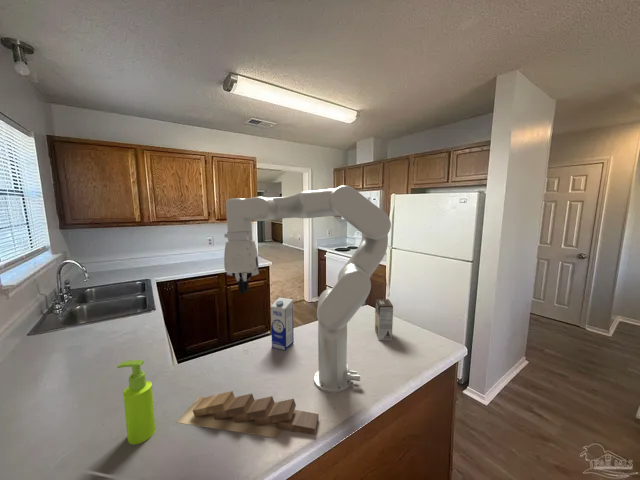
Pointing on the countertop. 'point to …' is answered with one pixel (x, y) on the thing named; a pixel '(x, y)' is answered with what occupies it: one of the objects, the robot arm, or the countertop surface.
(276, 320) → the milk carton
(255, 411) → the domino
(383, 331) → the coffee box
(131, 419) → the soap dispenser
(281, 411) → the domino
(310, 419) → the domino
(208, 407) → the domino
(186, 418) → the runner
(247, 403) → the domino
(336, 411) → the countertop surface
